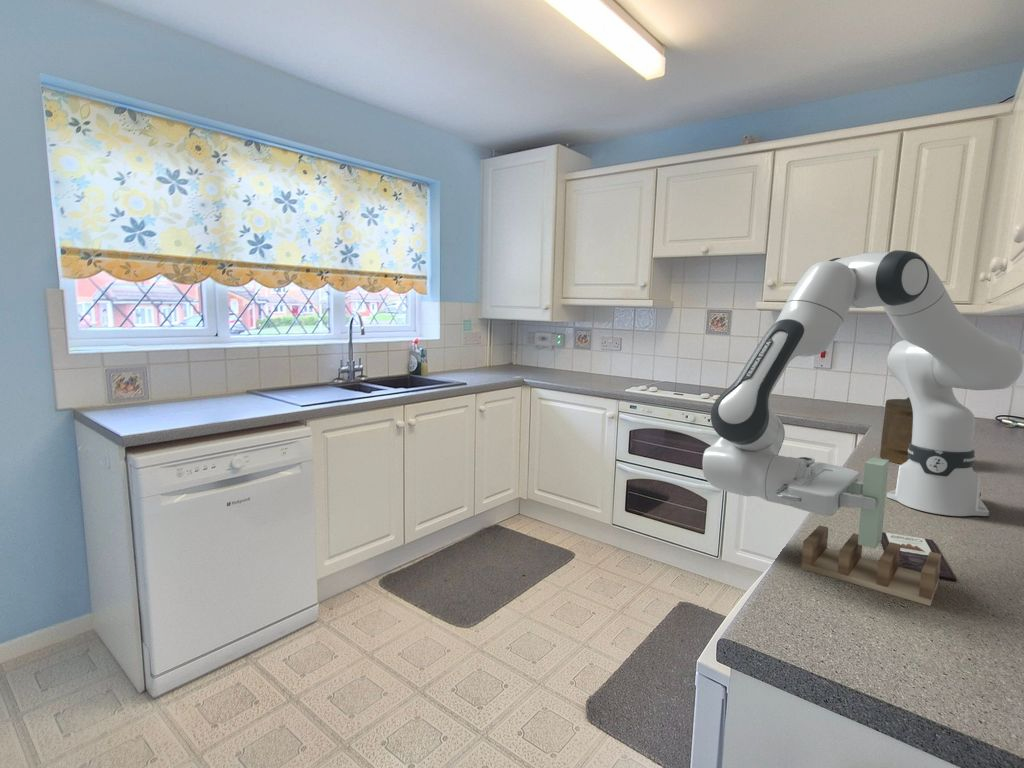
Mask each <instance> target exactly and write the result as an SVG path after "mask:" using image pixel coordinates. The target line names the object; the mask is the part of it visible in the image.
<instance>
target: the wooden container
mask: <svg viewBox="0 0 1024 768" xmlns="http://www.w3.org/2000/svg"><path fill="white" fill-rule="evenodd" d="M884 406H885V407H884V415H883V422H882V423H883V424H882V430H881V442H880V454H879V457H880V459H885V460H889V463H895V464H899V465H902V464H903V463H905V462H906V461H907V460H908V459H909V458H908V448H909V443H911V442H912V429H913V410H912V405H911V401H910V398H909V396H907V398H904V399H903V398H897V399H896V398H891V399H889V398H888V399H886V400H885V405H884Z"/></svg>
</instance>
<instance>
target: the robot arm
mask: <svg viewBox="0 0 1024 768" xmlns="http://www.w3.org/2000/svg"><path fill="white" fill-rule="evenodd" d="M875 307H883V309H884V311H885V313H886V315H887V316H888V318H889V320H890V321H891V323H892V325H893V327H894V328H895V330H896V332H897V333H898V335H899V336H900V337H901V338H902V340H900V341H898V342H896V343H894V345H893V346H892V347H891V349H890V350H889V352H888V353H887V359H886V361H887V362H886V364H887V368H888V371H889V373H890V374H891V376H893V377H894V378H896V380H897V381H898V382H899V383H900V384H901V385H902V386H903V388H904V389H905V391H906V394H907V397H909V398H910V401H911V405H912V410H913V429H912V442H911V443H909V448H908V458H909V459H908V460H907V461H906V462H905V463H903V464H899V466H898V473H897V480H896V487H895V488H894V489H893V490H891V491H890V490H889V491H888V492H886V498H889V499H891V500H894V501H896V502H898V503H900V504H902V505H904V506H906V507H908V508H912V509H915V510H916V511H917V510H918V511H922V512H926V513H930V514H935V515H943V516H951V517H971V516H973V517H974V516H975V517H978V516H979V517H989V516H990V511H989V510H988V508H987V506H986V505H985V504H984V502H983V501H982V499H981V498H980V497H981V495H982V492H981V491H980V487H981V477H979V475H978V474H977V473H976V472H975V470H974V469H973V467H974V465H975V464H974V463H975V459H976V456H975V455H976V454H975V450H974V438H975V431H976V430H975V429H976V418H975V414H974V413H973V412H972V411H971V410H970V409H969V408H968V407H966V406H964V405H963V404H961V403H960V402H959V400H958V399H957V397H956V396H955V393H954V391H953V388H956V389H962V390H970V391H971V390H972V391H992V390H993V391H994V390H1005V389H1007V388H1009V387H1012V385H1014V383H1016V382H1017V380H1019V378H1020V376H1021V374H1022V372H1023V368H1024V362H1023V361H1024V360H1023V357H1022V355H1021V353H1020V351H1019V350H1018V349H1017V348H1016V347H1015V346H1014V345H1012V344H1010V343H1007V342H1004V341H1002V340H999V339H997V338H996V337H993V336H991V335H989V334H988V333H986V332H984V331H982V330H981V329H980V328H978V327H977V326H975V325H974V324H973V323H972V322H970V320H968V319H967V318H966V317H965V316H964V315H963V314H962V313H961V312H960V310H959V309H958V308H957V306H956V305H955V303H954V301H953V299H952V298H951V296H950V295H949V292H948V291H947V289H946V287H945V285H944V284H943V281H941V279H940V277H939V275H938V274H937V272H936V271H935V269H934V268H933V267H932V266H931V265H930V264H929V263H928V261H927V260H926V259H925V258H923V257H922V255H921V254H920V253H917V252H914V251H910V250H901V249H899V250H898V249H895V250H892V251H872V252H863V253H860V254H855V255H851V256H846V257H845V256H844V257H836V258H832V259H829V260H822V261H819V262H816V263H814V264H813V265H811V266H810V267H809V268H807V270H806V271H805V273H803V275H802V276H801V277H800V279H799V280H798V282H797V283H796V285H795V286H794V288H793V289H792V291H791V292H790V294H789V296H788V298H787V300H786V302H785V303H784V306H783V307H782V309H781V311H780V314H779V315H778V317H777V318H776V320H775V322H774V323H773V324H772V325H771V326H770V328H768V330H767V331H766V333H765V334H763V335H764V336H763V337H762V338H761V340H760V341H759V343H758V344H757V346H756V348H755V349H754V351H753V353H752V354H751V356H750V357H749V359H748V361H747V362H746V363H745V365H744V367H743V368H742V370H741V372H740V373H739V375H738V377H737V378H736V380H735V381H734V382H733V383H732V384H731V385H730V386H729V387H728V388H727V389H726V390H724V391H723V392H722V393H721V394H720V395H719V396H718V397H717V399H716V400H715V401H714V403H713V405H712V406H711V411H710V422H711V426H712V428H713V429H714V431H715V432H716V434H717V435H718V436H720V438H718V439H717V441H715V442H714V443H713V444H712V445H710V446H709V447H707V448H705V450H704V451H703V455H702V458H701V469H702V472H703V476H704V479H705V480H706V482H707V483H709V484H710V485H711V486H712V487H714V488H716V489H718V490H722V491H725V492H728V493H730V494H734V495H739V496H743V497H756V498H760V499H763V500H764V501H766V502H771V503H773V504H779V505H783V506H787V507H792V508H795V509H798V510H801V511H805V512H808V513H813V514H815V515H819V516H825V517H828V516H834V515H835V514H836V513H837V512H838V511H839V510H840V509H841V508H842V507H845V508H848V509H849V508H850V509H851V508H852V509H855V508H856V509H861V508H866V509H871V510H873V509H875V508H876V506H877V498H875V497H871V496H867V495H865V496H862V490H863V481H861V478H862V477H861V475H862V474H861V472H860V471H857V470H855V469H854V468H853V469H851V468H849V467H845V466H841V465H839V466H838V465H837V464H833V463H832V464H830V463H825V462H821V461H816V460H815V458H814V457H808V456H803V457H800V456H799V457H792V456H784V455H779V453H780V450H781V448H782V446H783V443H784V440H785V435H786V434H785V433H786V431H785V427H784V425H783V422H782V420H781V419H780V418H779V416H778V415H776V413H775V412H774V411H773V410H772V409H771V406H770V398H771V394H772V393H773V390H774V389H775V387H776V385H777V384H778V382H779V381H780V379H781V377H782V375H783V374H784V372H785V370H786V369H787V367H788V365H789V364H790V363H791V362H792V360H793V359H795V358H796V357H803V358H804V357H805V358H806V357H814V356H817V355H819V354H822V353H825V351H826V350H828V348H829V347H830V346H831V344H832V343H833V342H834V341H835V339H836V338H837V335H838V334H839V332H840V330H841V328H842V326H843V324H844V322H845V320H846V318H847V315H848V312H849V311H850V308H851V309H867V308H875ZM815 461H816V462H815Z"/></svg>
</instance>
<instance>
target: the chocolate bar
mask: <svg viewBox="0 0 1024 768" xmlns="http://www.w3.org/2000/svg"><path fill="white" fill-rule="evenodd" d="M880 542H881V543H880V545H881V544H882V546H881V548H882V547H883V548H882V551H883V550H884V551H885V549H886V548H887V546H888V545H889V543H890V542H892V543H896V544H901V546H900V557H899V567H902V568H905V569H909V570H913V571H917V572H921V571H922V569H923V566H924V564H925V562H926V559H927V557H928V555H929V552H934V553H939V554H941V562H940V572H939V580H943V581H947V582H948V581H950V582H954V583H956V582H957V578H956V577H955V574H954V573H953V572H952V569H951V568H950V566H949V565H948V563H947V561H946V559H945V558H944V556H943V555H942V553H941V552H940V550H939V548H938V546H937V545H936V543H935V540H934V539H929V538H923V537H916V536H909V535H903V534H897V533H891V532H884V531H882V539H881V541H880ZM884 551H883V552H884Z"/></svg>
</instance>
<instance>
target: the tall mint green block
mask: <svg viewBox="0 0 1024 768" xmlns="http://www.w3.org/2000/svg"><path fill="white" fill-rule="evenodd" d="M889 463H890V461H889V460H885V459H882V458H879V457H878V458H877V457H872V456H871V457H870V458H869V459H868V460H866V461H865V462H864V469H863V470H864V472H863V481H862V482H863V490H862V495H861V496H865V495H867V496H871V497H875V498H877V506H876V508H875V509H873V510H871V509H866V508H860V515H859V527H858V545H862V547H867V548H870V549H874V550H876V549H877V547H878V546H879V544H881V543H880V541H881V539H882V532H883V530H884V529H883V527H884V515H885V506H886V498H887V487H888V486H887V484H888V476H889V465H890V464H889Z"/></svg>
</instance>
